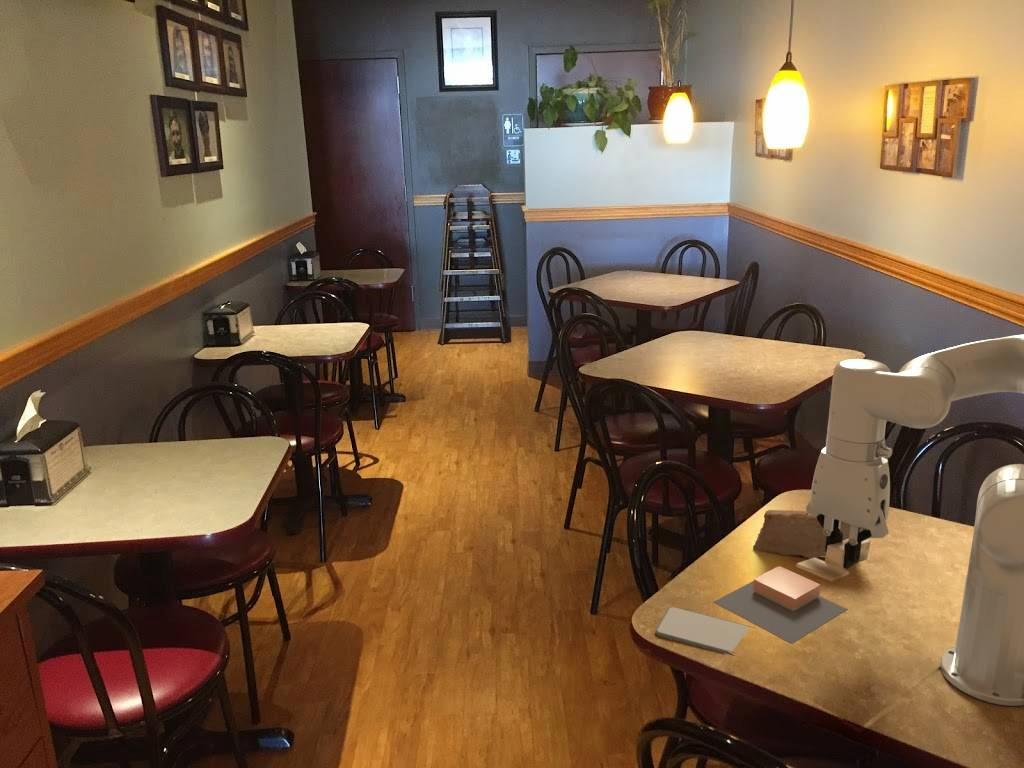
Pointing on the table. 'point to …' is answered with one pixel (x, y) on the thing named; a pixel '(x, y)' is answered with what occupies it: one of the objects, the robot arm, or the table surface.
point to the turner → (833, 561)
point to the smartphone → (701, 630)
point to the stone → (794, 534)
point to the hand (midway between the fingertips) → (841, 561)
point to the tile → (786, 588)
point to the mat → (779, 613)
